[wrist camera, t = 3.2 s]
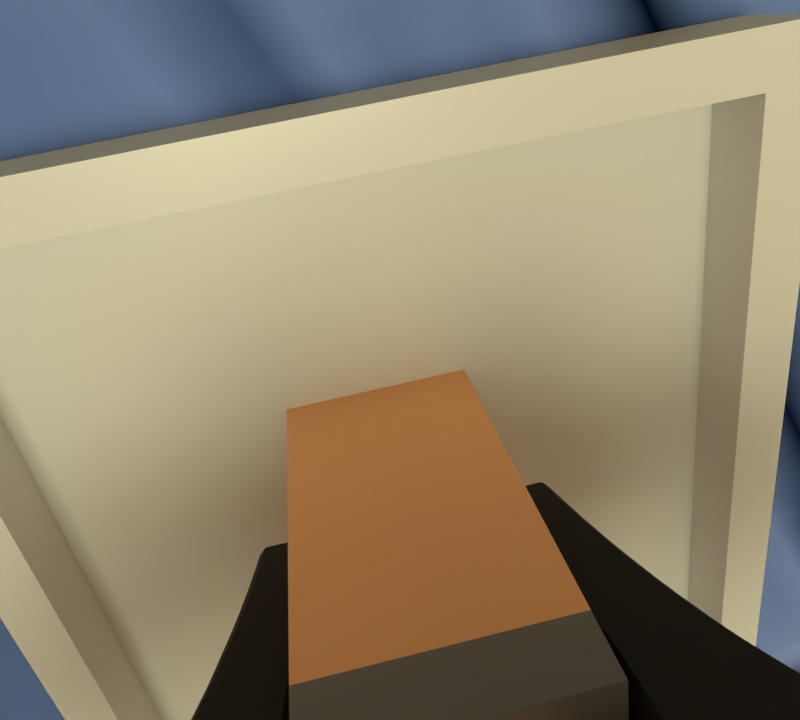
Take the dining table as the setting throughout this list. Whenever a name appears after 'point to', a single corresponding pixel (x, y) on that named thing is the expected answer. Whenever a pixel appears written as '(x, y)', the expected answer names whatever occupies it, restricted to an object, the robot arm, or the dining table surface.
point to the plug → (429, 571)
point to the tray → (395, 330)
